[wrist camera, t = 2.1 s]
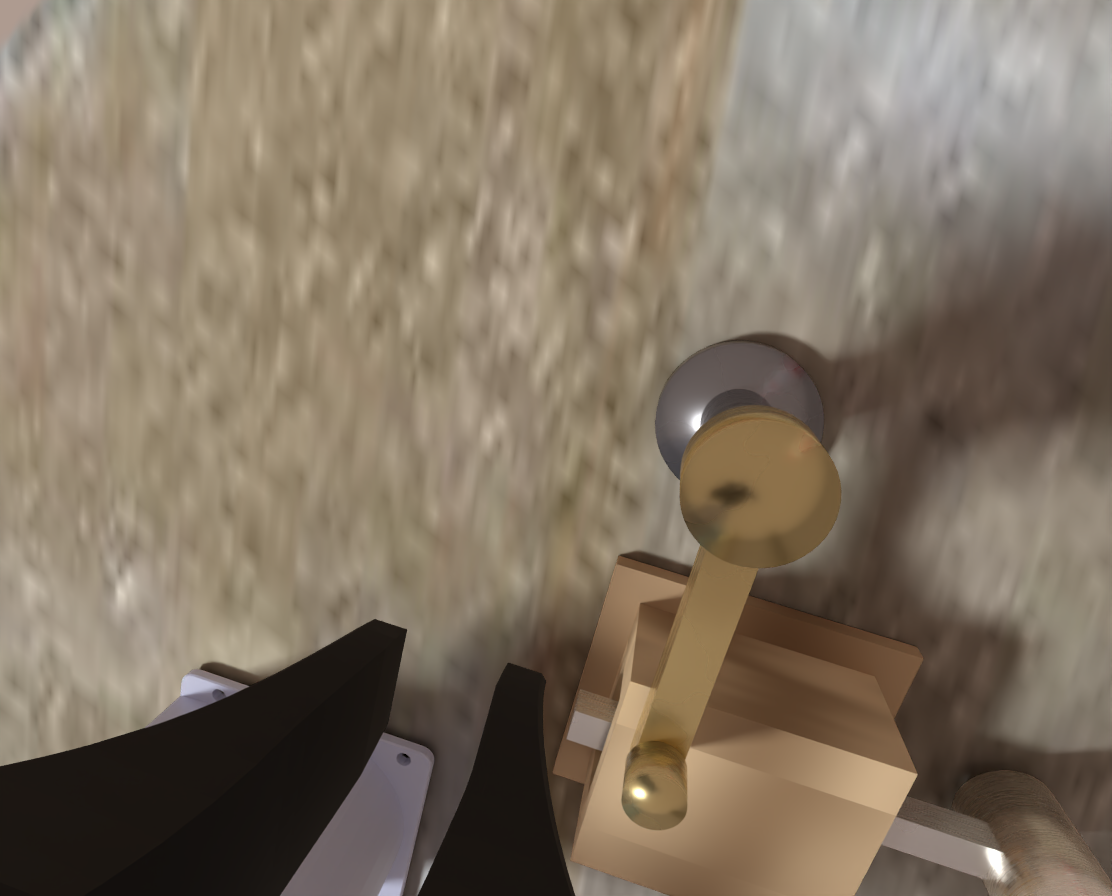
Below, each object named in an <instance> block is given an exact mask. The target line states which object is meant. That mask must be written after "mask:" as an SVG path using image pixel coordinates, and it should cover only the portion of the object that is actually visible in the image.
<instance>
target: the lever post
mask: <svg viewBox="0 0 1112 896" xmlns="http://www.w3.org/2000/svg"><path fill="white" fill-rule="evenodd" d="M748 405H761V406H769V407H774V408H777V409H780V410H783V411H786V412H788V413H790V414H792V415H794V416H795V417H797V418H798V419H800V420H801V421H802V422H804V423H805V424H806V425H807V426H808V427H809V428H810V429H811V430H812V432H813V433H814V434H815V435H816V437H817V438H818V440H819V441H820V443H821V440H822V435H823V429H824V414H823V406H822V402H821V399H820V395H819V393H818V391H817V388H816V386H815V385H814V383H813V381H812V380H811V378H810V377H809V375H808V374H807V373H806V372H805V371H804V369H803V368H802V367H801V366H800V365H799V364H798V363H797V362H796V361H794V360H793V359H792V358H791V357H790V356H788V355H787V354H785V353H784V352H782V351H780V350H778V349H776V348H774V347H772V346H769V345H766V344H763V343H758V342H753V341H742V340H739V341H727V342H722V343H718V344H714V345H711V346H708V347H706V348H704V349H702V350H700V351H698V352H696V353H695V354H693V355H691V356H690V357H688V358H687V359H686V360H685V361H684V362H682V363H681V364H680V365H679V366H678V367H677V368H676V370H675V371H674V372H673V373H672V375H671V376H670V377H669V379H668V380H667V382H666V384H665V386H664V388H663V390H662V392H661V395H660V398H659V402H658V406H657V411H656V421H655V428H656V438H657V443H658V446H659V449H660V452H661V454H662V457H663V459H664V461H665V462H666V464H667V465H668V467H669V469H670V470H671V471H672V472H673V473H674V475H675V476H676V477H677V478H678V479H679V480H680V469H681V462H682V458H683V454H684V451H685V449H686V446H687V445H688V443H689V441H690V439H691V438H692V436H693V435H694V434H695V432H696V431H697V430H698V429H699V428H700V427H701V426H702V425H703V424H704V423H706V422H707V421H708V420H710V419H711V418H713V417H714V416H716V415H718V414H719V413H722V412H724V411H726V410H729V409H733V408H736V407H741V406H748Z"/></svg>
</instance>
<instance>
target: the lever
mask: <svg viewBox="0 0 1112 896" xmlns="http://www.w3.org/2000/svg"><path fill="white" fill-rule="evenodd" d="M840 503H841V484H840V479H839V475H838V472H837V469H836V467H835V465H834V462H833V461H832V459H831V458H830V456H829V454H828V453H827V451H826V450H825V449H824V447H823V446H822V444H821V443H820V441H819V440H818V438H817V437H816V435H815V434H814V433H813V432H812V430H811V429H810V428H809V427H808V426H807V425H806V424H805V423H804V422H802V421H801V420H800V419H798V418H797V417H795V416H794V415H792V414H790V413H788V412H786V411H783V410H780V409H777V408H774V407H769V406H761V405H748V406H741V407H736V408H733V409H729V410H726V411H724V412H722V413H719V414H718V415H716V416H714V417H713V418H711V419H710V420H708V421H707V422H706V423H704V424H703V425H702V426H701V427H700V428H699V429H698V430H697V431H696V432H695V434H694V435H693V436H692V438H691V439H690V441H689V443H688V445H687V446H686V449H685V451H684V454H683V458H682V462H681V469H680V505H681V511H682V514H683V518H684V521H685V523H686V525H687V527H688V529H689V531H690V532H691V534H692V535H693V537H694V538H695V539H696V540H697V541H698V543H699V544H700V547H699V550H698V553H697V556H696V559H695V562H694V565H693V568H692V570H691V573H690V576H689V579H688V582H687V585H686V588H685V591H684V593H683V596H682V599H681V602H680V605H679V608H678V611H677V613H676V616H675V619H674V622H673V625H672V628H671V631H670V634H669V636H668V639H667V642H666V645H665V648H664V651H663V654H662V657H661V659H660V662H659V665H658V668H657V671H656V674H655V677H654V680H653V682H652V685H651V688H650V691H649V694H648V697H647V700H646V703H645V705H644V708H643V711H642V714H641V717H640V720H639V723H638V725H637V728H636V731H635V734H634V737H633V740H632V743H631V746H630V752H629V753H628V755H627V758H626V763H625V772H624V780H623V789H622V798H621V802H622V807H623V810H624V812H625V813H626V815H627V816H628V817H629V818H630V819H631V820H632V821H633V822H634V823H636V824H637V825H639V826H641V827H643V828H646V829H650V830H667V829H670V828H673V827H675V826H677V825H678V824H679V823H680V822H681V821H682V820H683V819H684V818H685V816H686V813H687V764H686V761H685V759H686V757H687V754H688V751H689V749H690V746H691V744H692V741H693V738H694V736H695V733H696V731H697V728H698V725H699V723H700V720H701V717H702V715H703V712H704V710H705V707H706V704H707V702H708V699H709V697H710V694H711V691H712V689H713V686H714V684H715V681H716V678H717V676H718V673H719V670H720V668H721V665H722V663H723V660H724V657H725V655H726V652H727V650H728V647H729V644H730V642H731V639H732V637H733V634H734V631H735V629H736V626H737V624H738V621H739V618H740V616H741V613H742V610H743V608H744V605H745V603H746V600H747V597H748V595H749V592H750V590H751V587H752V584H753V582H754V579H755V577H756V574H757V571H758V569H759V568H770V567H776V566H781V565H785V564H788V563H790V562H793V561H795V560H797V559H799V558H801V557H803V556H805V555H806V554H808V553H809V552H811V551H812V550H813V549H815V548H816V547H817V546H818V545H819V544H820V543H821V542H822V541H823V540H824V539H825V538H826V536H827V535H828V533H829V532H830V530H831V529H832V527H833V525H834V523H835V521H836V519H837V516H838V513H839V509H840Z"/></svg>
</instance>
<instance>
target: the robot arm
mask: <svg viewBox="0 0 1112 896" xmlns="http://www.w3.org/2000/svg"><path fill="white" fill-rule="evenodd" d="M406 633H407V629H404V628H401V627H398V626H395V625H391V624H388V623H385V622H382V621H379V620H376V619H374V620H372V621H370V622H368V623H366V624H364V625H363V626H361V627H359V628H357V629H355V630H354V631H352V632H350V633H348V634H347V635H345V636H343V637H342V638H340V639H338V640H336V641H335V642H333V643H331V644H329V645H328V646H326V647H324V648H322V649H320V650H319V651H317V652H315V653H313V654H312V655H310V656H308V657H306V658H304V659H302V660H300V661H298V662H297V663H295V664H293V665H291V666H289V667H287V668H285V669H283V670H282V671H280V672H278V673H276V674H274V675H272V676H270V677H268V678H266V679H264V680H262V681H260V682H257V683H255V684H253V685H251V686H247V685H244V684H241V683H238V682H235V681H232V680H230V679H227V678H224V677H221V676H218V675H215V674H212V673H209V672H206V671H203V670H200V669H194V670H191V671H190V672H189V673H188V674H187V675H185V676H184V677H183V679H182V684H181V696H180V697H179V698H177V699H176V700H175V701H174V702H173V703H172V704H171V705H170V706H169V707H167V708H166V709H165V710H164V711H163V712H162V713H161V714H160V715H158V716H157V717H156V718H155V719H154V720H153V721H152V722H151V723H150V724H148V725H147V726H146V727H145V728H143V729H140V730H137V731H134V732H130V733H127V734H124V735H121V736H117V737H114V738H111V739H108V740H104V741H101V742H98V743H94V744H91V745H88V746H84V747H80V748H77V749H73V750H69V751H65V752H61V753H57V754H53V755H49V756H45V757H40V758H36V759H31V760H27V761H22V762H18V763H14V764H9V765H4V766H0V896H403V892H404V888H405V883H406V879H407V875H408V871H409V867H410V862H411V858H412V854H413V850H414V845H415V841H416V837H417V833H418V828H419V824H420V820H421V816H422V812H423V807H424V803H425V799H426V795H427V790H428V786H429V782H430V778H431V773H432V769H433V765H434V756H433V753H432V752H431V751H430V750H429V749H428V748H426V747H424V746H422V745H419V744H416V743H413V742H410V741H407V740H404V739H401V738H399V737H396V736H393V735H390V734H387V733H384V730H385V728H386V726H387V724H388V721H389V716H390V711H391V706H392V701H393V696H394V691H395V686H396V681H397V677H398V672H399V667H400V662H401V657H402V652H403V647H404V642H405V637H406ZM545 684H546V680H545V678H544V676H543V675H542V674H541V673H538V672H535V671H532V670H529V669H526V668H523V667H520V666H517V665H514V664H511V663H508V664H507V666H506V667H505V669H504V671H503V673H502V675H501V677H500V679H499V681H498V683H497V685H496V688H495V691H494V695H493V699H492V702H491V706H490V709H489V713H488V717H487V720H486V724H485V727H484V731H483V735H482V738H481V742H480V745H479V749H478V753H477V756H476V760H475V763H474V767H473V770H472V773H471V776H470V779H469V782H468V785H467V788H466V790H465V793H464V795H463V797H462V799H461V802H460V804H459V806H458V809H457V811H456V813H455V815H454V818H453V820H452V822H451V824H450V827H449V829H448V831H447V833H446V836H445V838H444V840H443V842H442V844H441V847H440V849H439V851H438V853H437V855H436V858H435V860H434V862H433V864H432V866H431V868H430V871H429V873H428V875H427V877H426V879H425V881H424V883H423V886H422V888H421V890H420V892H419V894H418V896H575V893H574V890H573V887H572V884H571V880H570V877H569V874H568V870H567V867H566V863H565V859H564V855H563V852H562V848H561V844H560V840H559V835H558V831H557V827H556V822H555V817H554V812H553V806H552V801H551V795H550V790H549V783H548V776H547V768H546V759H545V749H544V737H543V697H544V689H545ZM220 690H221V691H223V692H224V694H223V693H222V692H221V691H220ZM402 753H404V754H406V755H408V756H409V757H410V758H406V757H405V756H403V755H402Z"/></svg>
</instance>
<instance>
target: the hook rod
mask: <svg viewBox="0 0 1112 896" xmlns="http://www.w3.org/2000/svg"><path fill="white" fill-rule="evenodd" d="M618 703H619V702H618V701H615V700H612V699H609V698H606V697H603V696H600V695H597V694H594V693H591V692H588V691H585V690H582V689H580V691H579V695H578V698H577V701H576V704H575V708H574V711H573V714H572V718H571V722H570V726H569V730H568V734H567V740H570V741H573V742H576V743H579V744H582V745H585V746H588V747H591V748H594V749H597V750H600V751H603V748H604V745H605V742H606V739H607V736H608V733H609V730H610V727H611V724H612V721H613V718H614V715H615V712H616V709H617V706H618ZM881 845H883V846H886V847H889V848H892V849H895V850H898V851H901V852H904V853H907V854H910V855H913V856H916V857H919V858H922V859H925V860H928V861H931V862H934V863H937V864H940V865H943V866H946V867H949V868H952V869H955V870H958V871H961V872H964V873H967V874H970V875H973V876H976V877H979V878H982V881H983V883H984V885H985V887H986V889H987V891H988V893H989V895H990V896H1112V882H1111V880H1110V879H1109V877H1108V876H1107V874H1106V873H1105V871H1104V870H1103V868H1102V867H1101V865H1100V864H1099V862H1098V861H1097V859H1096V858H1095V856H1094V855H1093V853H1092V852H1091V850H1090V849H1089V847H1088V846H1087V844H1086V843H1085V841H1084V840H1083V838H1082V837H1081V835H1080V834H1079V832H1078V831H1077V829H1076V828H1075V827H1074V825H1073V824H1072V822H1071V821H1070V819H1069V818H1068V816H1067V815H1066V813H1065V812H1064V810H1063V809H1062V807H1061V806H1060V804H1059V803H1058V801H1057V800H1056V798H1055V797H1054V795H1053V794H1052V792H1051V791H1050V789H1049V788H1048V787H1047V786H1046V785H1045V784H1044V783H1043V782H1041V781H1040V780H1038V779H1037V778H1035V777H1033V776H1031V775H1028V774H1026V773H1022V772H1018V771H1012V770H997V771H990V772H986V773H983V774H980V775H978V776H976V777H974V778H972V779H970V780H969V781H967V782H966V783H965V784H964V785H962V787H961V788H960V789H959V790H958V792H957V793H956V795H955V797H954V800H953V803H952V811H951V810H948V809H945V808H942V807H939V806H936V805H933V804H930V803H927V802H924V801H921V800H918V799H915V798H911V797H908V796H906V798H905V800H904V802H903V804H902V806H901V808H900V809H899V811H898V813H897V815H896V817H895V819H894V821H893V823H892V825H891V827H890V829H889V830H888V832H887V834H886V836H885V838H884V840H883V842H882V844H881Z"/></svg>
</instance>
